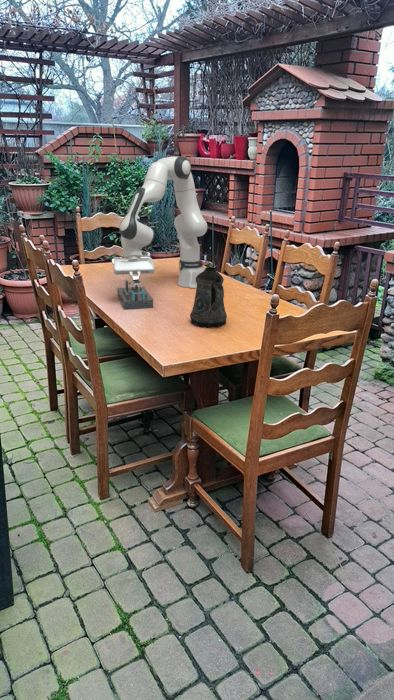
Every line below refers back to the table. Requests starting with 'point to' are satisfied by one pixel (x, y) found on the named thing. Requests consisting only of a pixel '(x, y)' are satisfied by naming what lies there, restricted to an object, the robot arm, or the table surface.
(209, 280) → the beer stein
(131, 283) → the silver long bar
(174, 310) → the table surface
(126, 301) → the grey mechanical fixture
